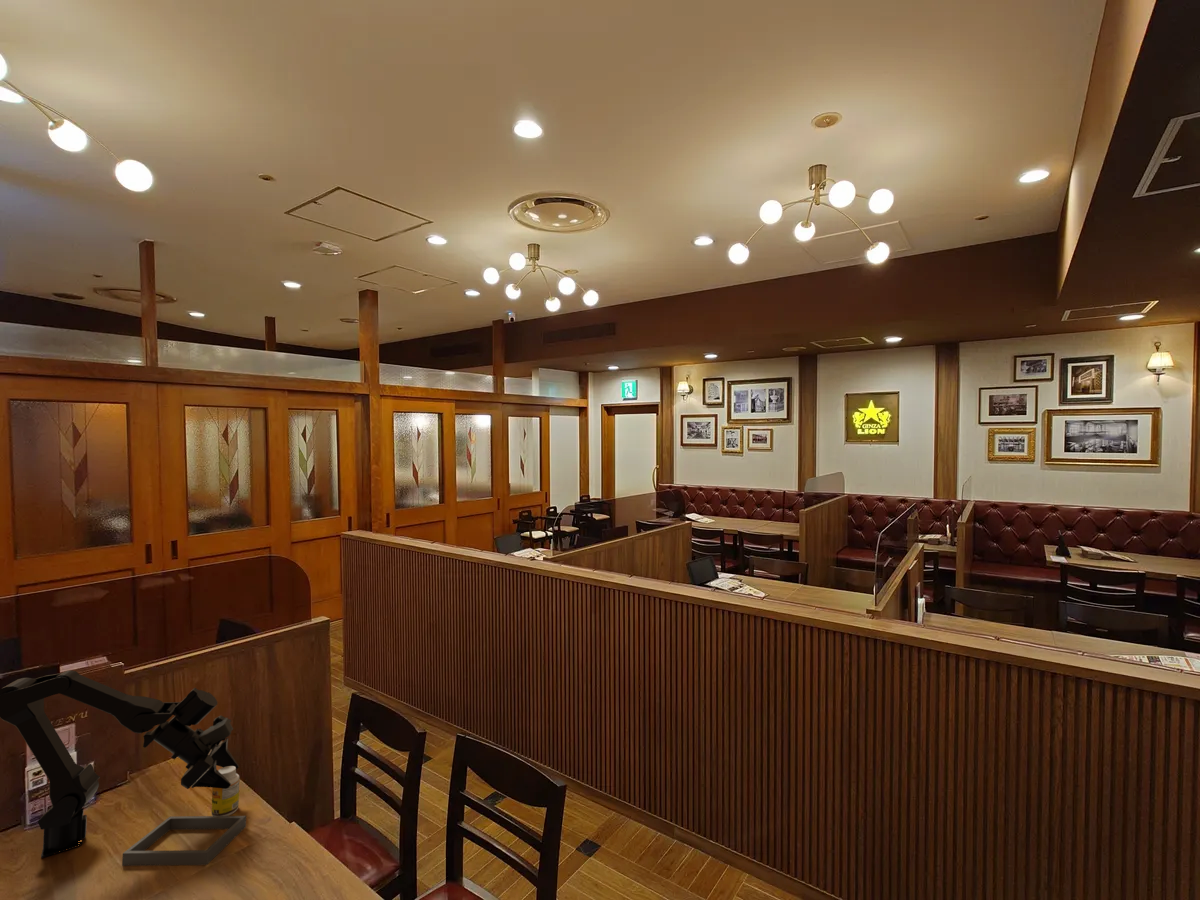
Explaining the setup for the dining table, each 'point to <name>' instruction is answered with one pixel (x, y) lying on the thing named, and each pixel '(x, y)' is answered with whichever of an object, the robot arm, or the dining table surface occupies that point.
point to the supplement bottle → (226, 794)
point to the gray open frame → (184, 857)
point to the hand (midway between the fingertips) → (233, 777)
